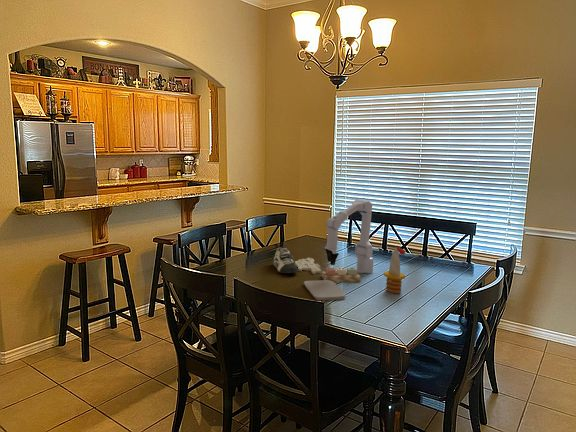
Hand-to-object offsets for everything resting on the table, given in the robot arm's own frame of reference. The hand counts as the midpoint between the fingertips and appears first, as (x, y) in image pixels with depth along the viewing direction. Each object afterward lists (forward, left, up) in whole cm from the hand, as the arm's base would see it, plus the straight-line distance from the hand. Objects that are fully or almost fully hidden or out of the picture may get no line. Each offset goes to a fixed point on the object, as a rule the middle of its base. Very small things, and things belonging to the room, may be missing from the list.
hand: (331, 263), depth 248 cm
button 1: (-12, 0, -6) cm, 14 cm away
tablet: (+8, +21, -10) cm, 25 cm away
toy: (-29, +22, -10) cm, 38 cm away
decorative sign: (+10, -25, -10) cm, 29 cm away
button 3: (0, 0, -6) cm, 6 cm away
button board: (-6, 0, -9) cm, 11 cm away
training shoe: (+25, -19, -10) cm, 33 cm away
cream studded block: (-6, 0, -6) cm, 9 cm away
